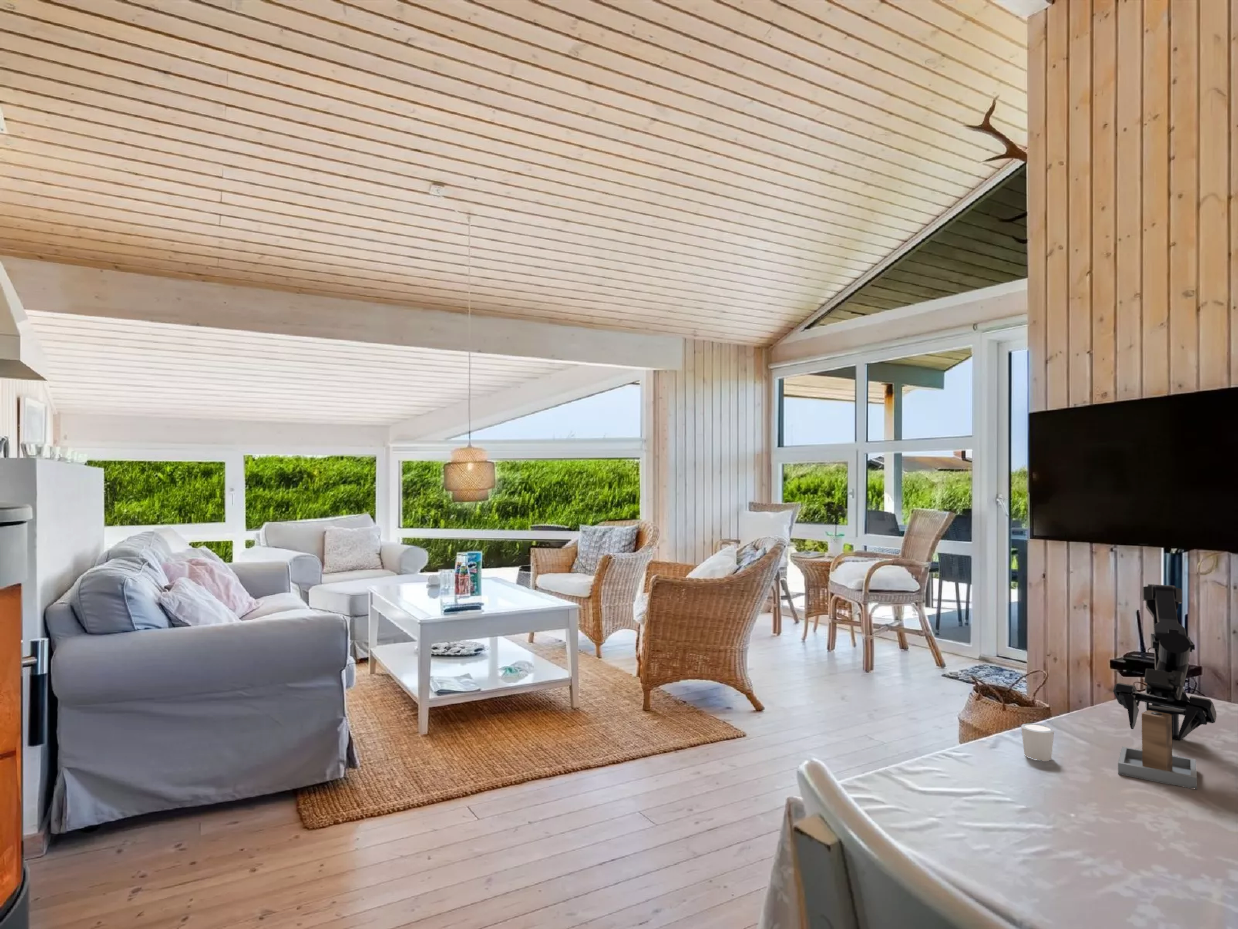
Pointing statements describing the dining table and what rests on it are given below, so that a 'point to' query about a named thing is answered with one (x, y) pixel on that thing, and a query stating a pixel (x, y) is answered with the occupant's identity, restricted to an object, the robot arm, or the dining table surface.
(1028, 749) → the white cup
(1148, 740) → the walnut block
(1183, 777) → the grey tray
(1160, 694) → the robot arm
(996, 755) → the dining table surface
